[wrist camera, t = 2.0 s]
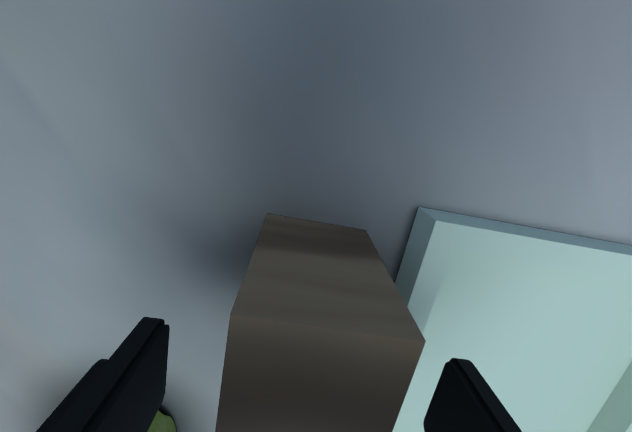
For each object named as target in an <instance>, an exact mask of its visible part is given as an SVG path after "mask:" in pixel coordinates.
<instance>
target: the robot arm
mask: <svg viewBox="0 0 632 432" xmlns="http://www.w3.org/2000/svg"><path fill="white" fill-rule="evenodd" d="M168 342H169V325H165V324H164V320H163V319H157V318H150V317H144V318H143V319H141V321H140V322H139V323H138V324H137V326H136V327H135V328H134V329H133V330H132V332H131V333H130V334H129V335H128V336H127V338H126V339H125V340H124V341H123V343H122V344H121V345H120V346H119V347H118V349H117V350H116V351H115V352H114V354H113V355H112V356H111V357H110V358H109V360H107V359H101V360H99V361H97V362H96V363H95V364H94V365H93V366H92V368H91V369H90V370H89V371H88V372H87V373H86V374H85V376H84V377H83V378H82V379H81V380H80V381H79V383H78V384H77V385H76V386H75V387H74V388H73V389H72V391H71V392H70V393H69V394H68V395H67V396H66V398H65V399H64V400H63V401H62V402H61V403H60V404H59V406H58V407H57V408H56V409H55V410H54V411H53V413H52V414H51V415H50V416H49V417H48V418H47V420H46V421H45V422H44V423H43V424H42V425H41V426H40V428H39V429H38V430H37V431H36V432H147V431H148V429H149V427H150V425H151V423H152V421H153V419H154V417H155V415H156V413H157V411H158V409H159V407H160V405H161V403H162V401H163V398H164V394H165V386H166V371H167V357H168ZM423 425H424V431H425V432H522V431H521V429H520V428H519V427H518V425H517V424H516V422H515V421H514V420H513V418H512V417H511V415H510V414H509V413H508V411H507V410H506V408H505V407H504V406H503V404H502V403H501V401H500V400H499V399H498V397H497V396H496V395H495V393H494V392H493V390H492V389H491V388H490V386H489V385H488V383H487V382H486V381H485V379H484V378H483V376H482V375H481V374H480V372H479V371H478V370H477V368H476V367H475V365H474V364H473V363H472V362H471V361H470V360H466V359H459V358H452V359H450V361H449V362H446V363H445V365H444V368H443V370H442V373H441V376H440V378H439V381H438V384H437V386H436V389H435V392H434V394H433V397H432V399H431V402H430V405H429V407H428V410H427V413H426V415H425V418H424V423H423Z"/></svg>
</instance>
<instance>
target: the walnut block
mask: <svg viewBox="0 0 632 432" xmlns="http://www.w3.org/2000/svg"><path fill="white" fill-rule="evenodd" d="M425 343H426V340H425V339H424V337H423V335H422V333H421V331H420V329H419V328H418V326H417V324H416V322H415V320H414V318H413V317H412V315H411V313H410V311H409V309H408V307H407V306H406V304H405V302H404V300H403V298H402V296H401V295H400V293H399V291H398V289H397V287H396V285H395V283H394V282H393V280H392V278H391V276H390V274H389V272H388V271H387V269H386V267H385V265H384V263H383V261H382V260H381V258H380V256H379V254H378V252H377V250H376V249H375V247H374V245H373V243H372V241H371V239H370V238H369V236H368V234H367V232H366V230H361V229H356V228H350V227H344V226H338V225H332V224H326V223H321V222H315V221H309V220H303V219H297V218H292V217H286V216H280V215H274V214H268V213H267V216H266V218H265V221H264V224H263V227H262V229H261V232H260V235H259V238H258V240H257V243H256V246H255V248H254V251H253V254H252V257H251V259H250V262H249V265H248V268H247V270H246V273H245V276H244V278H243V281H242V284H241V287H240V289H239V292H238V295H237V298H236V300H235V303H234V306H233V308H232V311H231V314H230V321H229V329H228V336H227V344H226V352H225V360H224V368H223V376H222V383H221V391H220V399H219V407H218V415H217V423H216V430H215V432H392V431H393V429H394V426H395V423H396V421H397V418H398V415H399V412H400V410H401V407H402V404H403V402H404V399H405V396H406V394H407V391H408V388H409V386H410V383H411V380H412V377H413V375H414V372H415V369H416V367H417V364H418V361H419V359H420V356H421V353H422V351H423V348H424V345H425Z"/></svg>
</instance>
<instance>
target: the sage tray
mask: <svg viewBox="0 0 632 432" xmlns="http://www.w3.org/2000/svg"><path fill="white" fill-rule="evenodd" d="M395 285H396V287H397V289H398V291H399V293H400V295H401V296H402V298H403V300H404V302H405V304H406V306H407V307H408V309H409V311H410V313H411V315H412V317H413V318H414V320H415V322H416V324H417V326H418V328H419V329H420V331H421V333H422V335H423V337H424V339H425V340H426V343H425V345H424V348H423V351H422V353H421V356H420V359H419V361H418V364H417V367H416V369H415V372H414V375H413V377H412V380H411V383H410V386H409V388H408V391H407V394H406V396H405V399H404V402H403V404H402V407H401V410H400V412H399V415H398V418H397V421H396V423H395V426H394V429H393V431H392V432H425V431H424V425H423V423H424V418H425V415H426V413H427V410H428V407H429V405H430V402H431V399H432V397H433V394H434V392H435V389H436V386H437V384H438V381H439V378H440V376H441V373H442V370H443V368H444V365H445V363H446V362H449V361H450V359H452V358H459V359H466V360H470V361H471V362H472V363H473V364H474V365H475V367H476V368H477V370H478V371H479V372H480V374H481V375H482V376H483V378H484V379H485V381H486V382H487V383H488V385H489V386H490V388H491V389H492V390H493V392H494V393H495V395H496V396H497V397H498V399H499V400H500V401H501V403H502V404H503V406H504V407H505V408H506V410H507V411H508V413H509V414H510V415H511V417H512V418H513V420H514V421H515V422H516V424H517V425H518V427H519V428H520V429H521V431H522V432H632V246H631V245H625V244H620V243H614V242H609V241H604V240H598V239H593V238H587V237H582V236H576V235H571V234H565V233H560V232H554V231H549V230H543V229H538V228H532V227H527V226H521V225H516V224H510V223H505V222H500V221H494V220H489V219H483V218H478V217H472V216H467V215H461V214H456V213H450V212H445V211H439V210H434V209H428V208H423V207H418V210H417V214H416V217H415V220H414V223H413V226H412V230H411V233H410V236H409V239H408V243H407V246H406V249H405V252H404V255H403V259H402V262H401V265H400V268H399V271H398V275H397V278H396V281H395Z"/></svg>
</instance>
